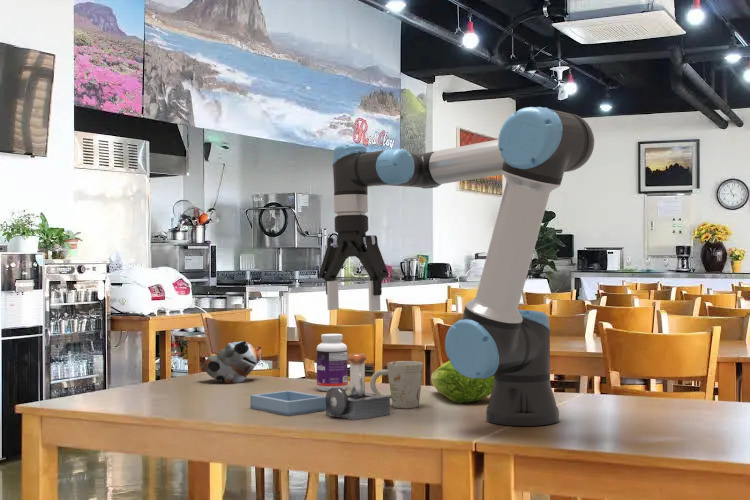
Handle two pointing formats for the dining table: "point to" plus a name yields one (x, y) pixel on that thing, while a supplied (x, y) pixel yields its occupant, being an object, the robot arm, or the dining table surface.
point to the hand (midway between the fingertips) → (353, 310)
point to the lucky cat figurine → (233, 362)
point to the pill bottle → (331, 362)
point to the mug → (402, 382)
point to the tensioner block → (356, 405)
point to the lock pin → (357, 375)
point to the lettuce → (460, 385)
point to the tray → (288, 402)
